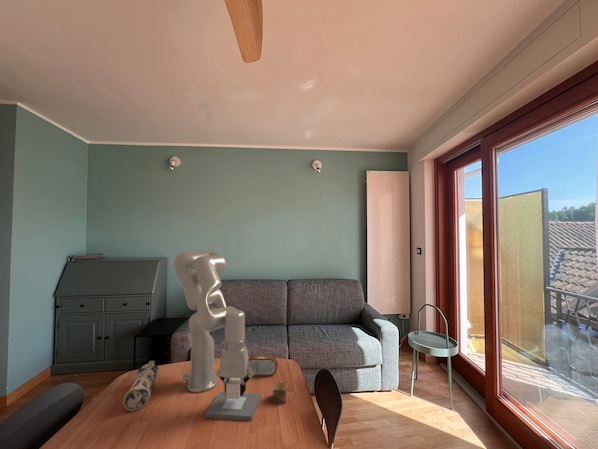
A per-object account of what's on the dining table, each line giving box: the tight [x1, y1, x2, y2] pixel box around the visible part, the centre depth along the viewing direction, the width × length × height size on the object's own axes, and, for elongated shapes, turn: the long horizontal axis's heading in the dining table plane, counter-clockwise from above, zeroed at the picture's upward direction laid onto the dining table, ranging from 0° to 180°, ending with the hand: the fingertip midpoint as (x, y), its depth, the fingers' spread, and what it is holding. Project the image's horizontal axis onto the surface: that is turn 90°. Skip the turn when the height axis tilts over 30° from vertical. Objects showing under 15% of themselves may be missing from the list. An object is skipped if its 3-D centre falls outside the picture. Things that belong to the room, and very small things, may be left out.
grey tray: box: [204, 391, 262, 422], centre depth 96 cm, size 17×13×2 cm
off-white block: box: [226, 378, 241, 399], centre depth 96 cm, size 5×5×5 cm
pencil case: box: [122, 360, 160, 412], centre depth 104 cm, size 22×8×10 cm, turn 20°
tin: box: [248, 355, 279, 377], centre depth 119 cm, size 15×3×8 cm, turn 89°
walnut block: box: [272, 381, 289, 404], centre depth 101 cm, size 5×5×5 cm
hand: (235, 393), depth 96 cm, fingers closed on off-white block, 5 cm apart
